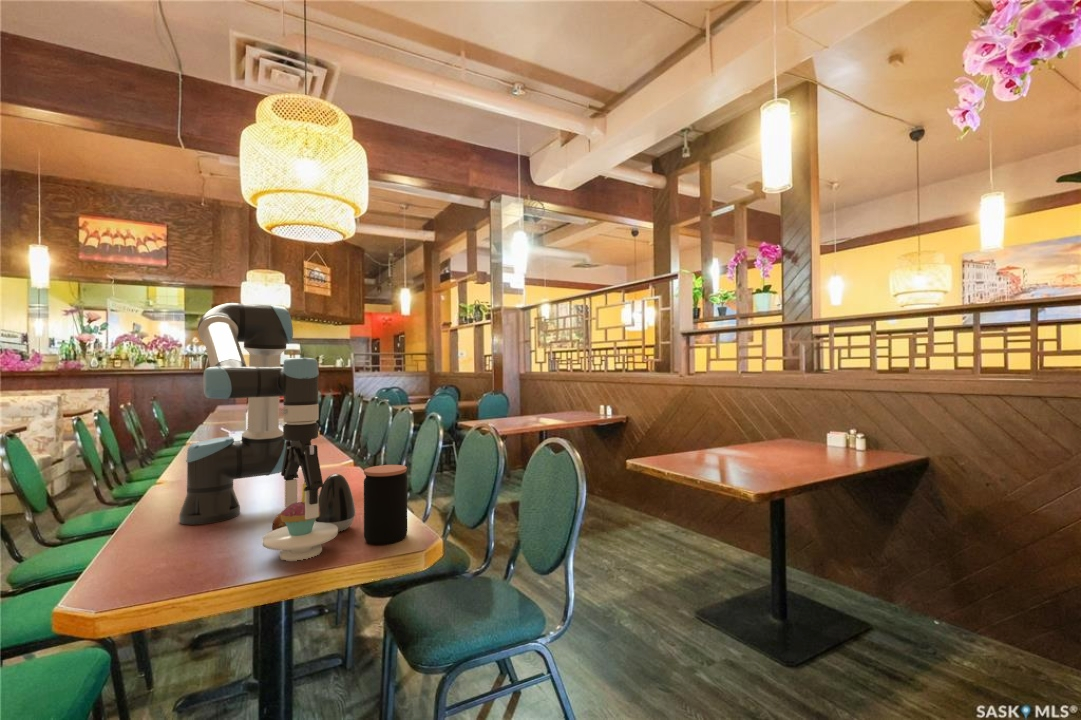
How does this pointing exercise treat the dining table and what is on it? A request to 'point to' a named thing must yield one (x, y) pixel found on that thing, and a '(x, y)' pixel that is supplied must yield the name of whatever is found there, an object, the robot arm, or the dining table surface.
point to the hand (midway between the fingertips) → (301, 512)
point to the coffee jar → (385, 504)
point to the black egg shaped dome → (336, 502)
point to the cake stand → (300, 541)
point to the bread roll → (278, 523)
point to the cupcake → (297, 517)
